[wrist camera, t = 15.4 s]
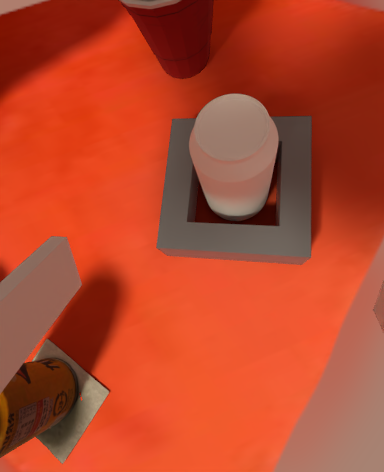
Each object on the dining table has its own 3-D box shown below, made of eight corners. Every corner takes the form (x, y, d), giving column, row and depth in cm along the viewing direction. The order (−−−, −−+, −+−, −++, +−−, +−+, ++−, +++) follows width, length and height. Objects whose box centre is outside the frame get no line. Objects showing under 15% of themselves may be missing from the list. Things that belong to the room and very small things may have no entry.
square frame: (167, 255, 30) (156, 247, 26) (180, 141, 33) (172, 118, 29) (301, 264, 28) (310, 257, 24) (303, 140, 31) (311, 115, 27)
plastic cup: (134, 99, 36) (82, -1, 24) (149, 26, 38) (108, -97, 26) (225, 99, 34) (215, -10, 22) (234, 21, 36) (230, -114, 24)
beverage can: (195, 203, 31) (165, 142, 20) (228, 157, 32) (218, 70, 20) (245, 235, 29) (245, 188, 18) (279, 185, 30) (300, 108, 19)
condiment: (48, 338, 30) (-71, 355, 19) (110, 391, 28) (17, 447, 17) (4, 402, 30) (-148, 460, 18) (64, 462, 27) (-66, 572, 16)
